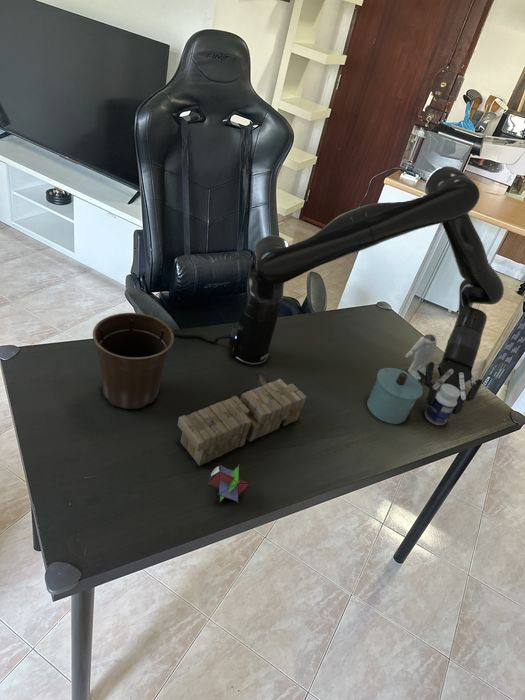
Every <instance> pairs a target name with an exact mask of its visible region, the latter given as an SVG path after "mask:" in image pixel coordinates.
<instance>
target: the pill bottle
mask: <svg viewBox="0 0 525 700" xmlns="http://www.w3.org/2000/svg"><path fill="white" fill-rule="evenodd" d="M436 391H437V393H436V396H435V399H434V402H433V404H432V405H428V404H427V405H428V406H427V407H426V409H425V411H424V416H425V418H426V419H427V421H428V422H429V423H431V424H433V425H436V426H443V425H445V424H446V423H447V422H448V420H449V419H450V416H451V415H452V412H453V410H454V408H455V407H456V405H457V400H458V397H459V396H460V391H459V390H458V388H456V387H455V386H453V385H451V384H445V383H442V384H441V386H440V388H439V390H436Z"/></svg>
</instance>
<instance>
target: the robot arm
mask: <svg viewBox="0 0 525 700" xmlns="http://www.w3.org/2000/svg"><path fill="white" fill-rule="evenodd" d="M424 192H425V194H424V195H422V196H419V197H416V198H412V199H409V200H403V201H402V200H401V201H385V202H375V203H368V204H365V205H362V206H359V207H357V208H354V209H351V210H349V211H346V212H344V213H342V214H340V215H338V216H336V217H335V218H333V219H332V220H331V221H330V222H328V223H327V224H326V225H325V226H324V227H322V228H321V229H320V230H319V231H317V232H316V233H315V234H313V235H312V236H310V237H308V238H306V239H303V240H301V241H298V242H296V243H293V244H289V243H288V241H287V240H286V239H285V238H283V237H281V236H279V235H267V236H264V237H263V238H261V239H260V240H258V242H257V243H256V244H255V246H254V248H253V251H252V254H251V260H250V265H249V270H248V275H247V279H246V290H245V295H244V300H243V305H242V310H241V314H240V317H239V321H238V326H237V328H236V327H231V331H230V334H220V335H217V336H216V337H215V338H210V337H208V336H205V335H204V334H200V333H194V332H193V333H191V332H190V333H189V332H188V333H184V332H180V331H177V330H175V329H174V328H172V326H170V325H169V324H167V323H166V322H165V321H163V322H164V323H166V324H167V325H168V326H169V327H170V329H171V330H172V332H173V335H174V336H177V337H182V338H199V339H202V340H203V341H205V342H208V343H212V344H213V343H217V342H218V341H219V340H223V339H229V341H228V346H231V347H233V348H232V355H231V358H232V359H235V360H237V361H238V362H240V363H242V364H244V365H247V366H259V365H262V364H264V363H266V361H267V359H268V357H269V355H270V353H269V351H270V346H271V343H272V339H273V336H274V331H275V329H276V325H277V321H278V318H279V315H280V311H281V307H282V303H283V301H284V287H285V283H287V282H289V281H291V280H293V279H295V278H297V277H299V276H301V275H303V274H305V273H307V272H310V271H311V270H314V269H316V268H318V267H320V266H323V265H325V264H329V263H330V262H331V263H332V262H333V261H337V260H338V259H341V258H343V257H346V256H348V255H351V254H354V253H358V252H361V251H364V250H366V249H369V248H372V247H374V246H377V245H379V244H381V243H384V242H387V241H389V240H391V239H392V240H393V239H395V238H399V237H401V236H403V235H406V234H409V233H411V232H415V231H418V230H421V229H424V228H427V227H432V226H435V225H440V224H441V225H442V227H443V229H444V232H445V234H446V238H447V240H448V243H449V244H450V245H449V246H450V249H451V251H452V255H453V258H454V261H455V264H456V266H457V270H458V272H459V275H460V276H461V278H462V279H463V280H462V281H461V283H460V285H459V288H458V310H457V311H458V312H457V317H456V320H455V322H454V325H453V329H452V331H451V333H450V334H449V337H448V339H447V343H446V346H445V348H444V349H445V350H444V353H443V356H442V359H441V361H440V363H439V364H438V363H434V362H433V361H430V362H427V363H426V367H425V368H426V373H425V376H424V381H423V385H424V386H425V387H427V388H428V389H429V391H428V394H427V397H426V402H427V405H432V404H433V402H434V399H435V396H436V393H437V391H438V388H439V387H441V386H442V385H443V384H451V385H453V386H455V387H456V388H458V390H459V391H460V396H459V397H458V399H457V405H456V407H455V408H454V410H453V411H452V413H451V415H452V414H453V415H458V414H461V412H462V409H463V406H464V403H465V402H470V401H474V399H475V398H476V395H477V393H478V391H479V389H480V387H481V386H482V384H483V380H482V379H480V378H476V377H474V376H473V373H472V371H473V368H474V365H475V361H476V359H477V356H478V352H479V349H480V346H481V341H482V336H483V333H484V330H485V327H486V324H487V321H488V315H487V313H485V312H484V311H483V310H482V309H479V308H475V307H473V305H474V304H477V305H487V306H488V305H489V306H491V305H496V304H498V303H499V302H500V301H501V300H502V299H503V297H504V292H505V288H504V284H503V283H504V282H503V281H502V279H501V277H500V276H499V275H498V273H497V272H496V271H495V270H494V268H493V266H491V264H490V263H489V259H488V256H487V253H486V250H485V246H484V244H483V241H482V239H481V237H480V235H479V233H478V231H477V230H476V227H475V226H474V223H473V221H472V219H471V216H470V214H469V213H470V212H471V211H472V210H473V209H474V208H475V207H476V206H477V204H478V202H479V199H480V189H479V187H478V186H477V184H476V183H475V181H474V180H473V179H472V178H470V177H469V176H468V175H467V174H465V173H464V172H463V171H462V170H460V169H459V168H457V167H454V166H450V165H447V166H446V165H445V166H442V167H439V168H437V169H435V170H434V171H433V172H431V173H430V175H429V177H428V178H427V180H426V183H425V187H424ZM436 370H437V371H438V374H439V377H438V378H437V379H436V381H435V382H432V380H433V374H434V372H435V371H436ZM468 381H470V384H469V385H470V388H469V391H468V393H467V395H466V383H467V382H468Z"/></svg>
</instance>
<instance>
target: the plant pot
mask: <svg viewBox="0 0 525 700" xmlns="http://www.w3.org/2000/svg"><path fill="white" fill-rule="evenodd" d="M164 322H165V321H163V320H162V319H160V318H159V317H155V316H152V315H151V314H145V313H139V312H121V313H116V314H111V315H109V316H107V317H105V318H103V319H101V320H100V321H98V322H97V323H96V324H95V326H94V328H93V329H92V339H93V342H94V344H95V345H96V346H95V348H96V354H97V355H98V358H99V366H100V376H101V384H102V392H103V396H104V398H105V399H107V400H108V402H109V403H110V404H111V405H113V406H116V407H118V408H121V409H127V410H135V409H142V408H144V407H146V405H149V404H152V403H153V402H154V401H155V400H156V399H157V397H158V395H159V391H160V386H161V381H162V377H163V376H162V375H163V373H164V368H165V363H166V360H167V358H168V356H169V353H170V349H171V348H172V346H173V344H174V339H175V338H174V337H175V335H174V334H173V332H172V330H171V329H170V327H171V326H170V325H169V324H168V325H169V326H170V327H169V326H168V325H167V323H166V322H165V323H164Z"/></svg>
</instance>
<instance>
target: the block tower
mask: <svg viewBox="0 0 525 700" xmlns="http://www.w3.org/2000/svg"><path fill="white" fill-rule="evenodd" d="M269 382H270V383H267V384H266V385H263V386H262V385H261V386H258V387H256V388H253V389H251V390H248V391H245V392H243V393H241V396H240V398H239V397H238V396H237V395H234V396H231V398H228V399H226V400H222V401H218V402H216V403H214V404H211V405H209V406H207V407H204V408H203V409H199V410H197V411H194V412H192V413H190V414H187V415H185V414H183V415H180V416H179V417H178V422H177V427H178V428H179V429H180V430H181V437H180V444H181V445H182V446H183V448H184V449H185V450H186V451H187V452H188V453H189V455H190V456H191V458H192V459H193V460H194V461H195V462H196V465H198V466H203V465H204V464H208V463H210V462H211V461H213V460H215V459H217V458H220V457H222V456H223V455H225V454H227V453H229V452H231V451H234V450H235V449H237V448H241V447H243V446H245V444H246V441H248V442H249V443H250V442H253V441H254V440H257V439H259V438H261V437H264V436H265V435H268V434H269V433H272V432H274V431H276V430H279V429H280V426H283V427H285V426H288V425H289V424H292V423H295V422H297V421H298V418H299V417H300V414H301V412H302V409H303V407H304V404H305V403H306V399H307V395H305V393H303V392H302V391H301V390H299V388H298V387H296V386H295V385H294V383H290V384H286V382H285V381H284V380H283V379H281V378H279V379H276V380H274V381H272V382H271V381H269Z"/></svg>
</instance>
